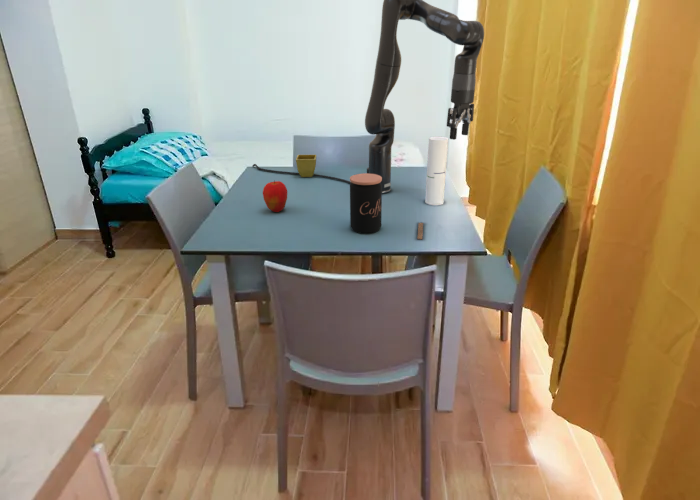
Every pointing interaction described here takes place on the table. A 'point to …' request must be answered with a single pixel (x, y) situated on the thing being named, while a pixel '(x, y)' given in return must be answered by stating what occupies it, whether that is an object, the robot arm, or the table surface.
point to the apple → (275, 195)
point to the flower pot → (306, 165)
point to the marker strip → (420, 231)
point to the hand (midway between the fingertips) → (458, 137)
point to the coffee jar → (365, 203)
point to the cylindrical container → (436, 170)
